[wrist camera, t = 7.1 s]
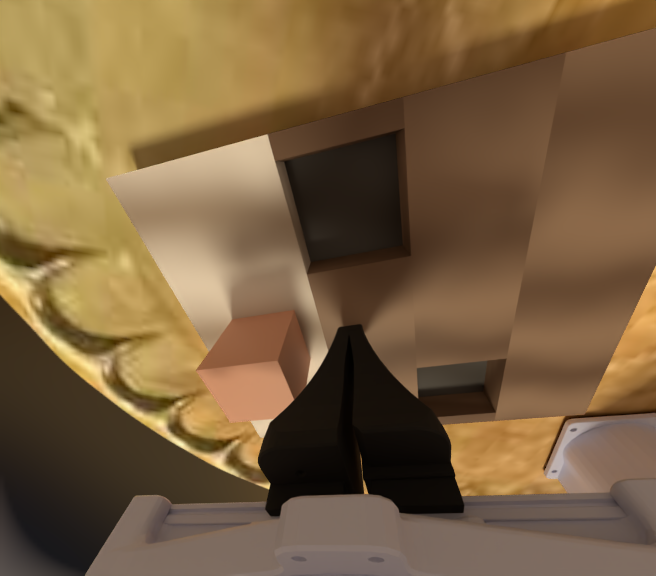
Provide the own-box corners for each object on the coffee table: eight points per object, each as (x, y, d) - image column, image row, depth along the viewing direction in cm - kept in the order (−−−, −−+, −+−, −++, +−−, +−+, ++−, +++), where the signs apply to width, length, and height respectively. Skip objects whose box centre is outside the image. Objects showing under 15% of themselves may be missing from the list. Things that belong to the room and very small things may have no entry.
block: (310, 359, 15) (301, 416, 12) (255, 365, 16) (230, 422, 12) (294, 309, 14) (277, 360, 10) (232, 319, 14) (195, 370, 11)
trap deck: (561, 390, 18) (584, 414, 17) (267, 415, 22) (260, 437, 20) (697, 26, 9) (785, -8, 7) (139, 176, 12) (105, 178, 11)
